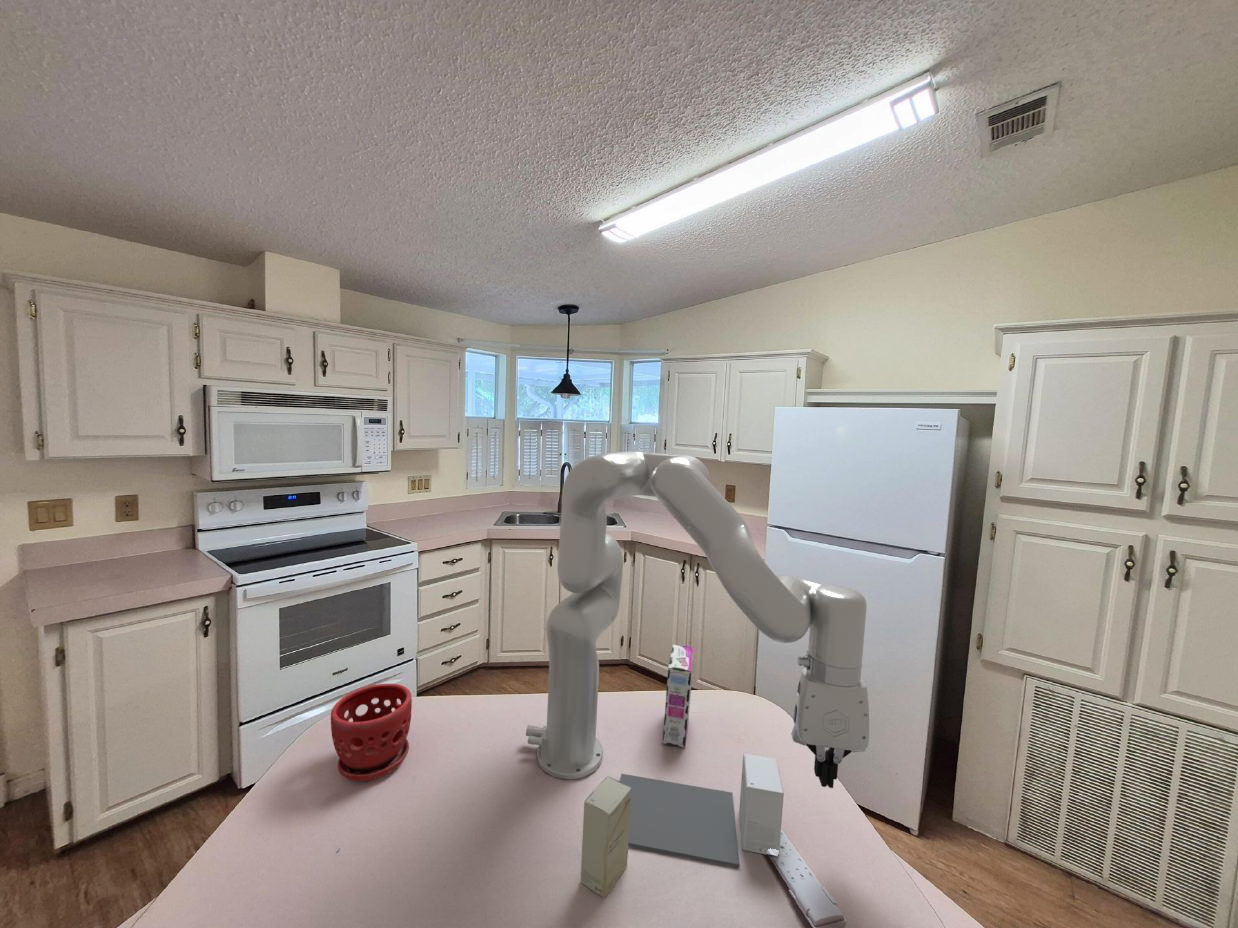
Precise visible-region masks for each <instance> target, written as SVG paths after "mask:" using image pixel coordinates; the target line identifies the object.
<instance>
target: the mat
mask: <svg viewBox="0 0 1238 928" xmlns="http://www.w3.org/2000/svg"><path fill="white" fill-rule="evenodd" d="M619 778H620V779H619V782H621V783H623V784H625V785H627V786H629V787H630V788H631V800H630V819H629V839H628V848H629V847H630V848H634V849H638V850H639V849H640V850H644V851H648V852H649V851H650V852H654V853H659V854H665V855H668V856H669V855H670V856H675V857H680V858H683V859H684V858H686V859H691V860H695V861H700V862H705V863H711V864H716V865H721V866H726V867H730V868H737V869H740V868H741V867H740V865H741V863H740V854H739V844H738V835H737V825H736V814H735V806H734V805H735V804H734V796H733V792H731V791H727V790H726V791H725V790H718V789H714V788H708V787H703V786H702V787H701V786H696V785H691V784H684V783H679V782H674V781H667V780H666V781H665V780H661V779H655V778H650V777H645V776H639V775H632V774H626V773H621V774H620V777H619Z"/></svg>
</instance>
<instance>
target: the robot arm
mask: <svg viewBox="0 0 1238 928" xmlns="http://www.w3.org/2000/svg"><path fill="white" fill-rule="evenodd" d="M635 495H636V496H637V495H638V496H647V497H655V498H656V499H657V500H658V501H659V502H660V504H661V505H662V506H663V507H664V508H665V510H666V511H668V513H669V514H670V515H671V516H672V517H673V518H674V519H675V520H676V522H677V523H678V524H679V526H681V527H682V529H684V530H685V532H686V533H687V534H688V535H689V536H690V538H691V539H692V540H693V541H694V542H695V544H697V546H698V547H699V548H700V549H701V550H702V552H703V553H704V555H705V557H706V558H707V560H708V562H709V564H710V566H711V568H712V571H713V572H714V573H715V574H716V577H717V579H718V580H719V582H720V583H721V586H722V587H723V588H724V589H725V591H726V592H727V594H728V596H729V597H730V598H731V600H732V601H733V602H734V603H735V605H736V606H737V607H738V608H739V609H740V611H741V612H742V613H743V614H744V615H745V616H746V617H747V619H749V621H750V622H751V623H752V624H753V625H754V626H755V628H757V630H758V631H760V632H761V633H762V634H763V635H765V637H768V638H769V639H771V640H773V641H774V642H778V643H783V644H790V643H791V644H792V643H794V642H797V641H799V640H801V639H802V638H804V636H805V635H806V633H807V632H808V630H809V636H808V649H807V650H806V654H805V656H798V657H797V664H798V666H799V667H803V669H802V672H801V674H800V678H799V681H798V684H797V685H798V686H797V689H796V693H795V700H794V707H793V719H792V720H793V723H794V725H793V728H792V731H791V734H790V735H791V738H792V741H793V742H794V743H796V744H799V745H802V746H806V747H807V748H808V749H809V751H811V753H813V754H814V764H813V767H814V768H813V771H814V775H815V777H816V778H818V779H819V783H820V785H821V787H822V788H826V787H828V788H830V789H834V782H835V780H837V779H838V772H839V771H838V769H839V765H840V764H841V763H842V762H843V759H844V758H845V757H847V756H848V755H850V754H851V753H860V752H861V753H863V752H865V751H866V750H867V748H868V746H869V742H870V741H869V740H870V707H869V695H868V694H869V693H868V692H869V691H868V687H867V684H866V682H865V681H864V680H863V678H862V667H863V656H864V644H865V643H864V641H865V630H866V619H867V618H866V617H867V600H866V599H865V597H864V595H863V594H862V593H860V592H859V591H858V590H856V589H853V588H851V587H846V586H843V585H838V584H837V585H836V584H821V583H817V582H814V581H810V580H807V579H803V578H800V577H797V576H794V575H787V574H778V575H776V574H775V573H774V572H773V571H772V569H771V568H770V567H769V565H768V564H767V563H766V562H765V561H764V559H763V558H762V556H761V554H760V553H759V551H758V549H757V548H756V545H755V543H754V541H753V538H752V536H751V535H752V534H751V533H750V530H749V527H748V525H747V522H746V521H745V519H744V518H743V516H742V515H741V514H740V513H739V512H738V511H737V510H736V509H735V508H734V507H733V506H732V505H731V504H730V503H729V501H727V499H726V498H725V497H724V496H723V495H722V494H721V493H720V492H719V490H717V488H715V486H714V485H713V484H712V483H711V482H710V473H709V470H708V468H707V467H706V465H705V464H704V462H702V460H700V459H698V458H697V457H695V456H692V455H684V454H664V453H654V452H643V451H642V452H641V451H614V452H613V451H612V452H605V453H600V454H596V455H592V456H590V457H587V458H585V459H583V460H582V461H580V462H578V463H577V464H576V465H574V467H572V468H571V470H569V472H568V474H567V476H566V477H565V480H564V483H563V487H562V493H561V518H560V527H559V528H560V529H559V540H558V541H559V542H558V552H557V553H558V555H557V569H556V571H557V576H558V577H557V579H558V581H559V584H561V586H562V587H563V588H564V590H566V591H568V592H570V593H571V594H570V595H568V596H567V597H566V598H563V600H561V601H560V602H559V603H557V605H555V607H554V608H552V610H551V611H550V613H549V615H548V617H547V620H546V625H545V632H546V633H545V634H546V641H547V647H548V687H547V688H548V690H547V709H546V710H547V715H546V725H544V726H542V727H541V726H540V727H539V726H535V725H532V724H531V725H529V724H528V725H526V731H525V736H526V737H527V744H529V745H537V746H538V748H537V753H536V755H537V756H536V757H537V763H538V765H539V767H540V768H541V769H542V771H544V772H545V773H546V774H548V775H550V776H551V777H555V778H557V779H561V780H562V779H564V780H575V779H580V778H584V777H586V776H589V775H591V774H592V773H593V772H595V771H596V770H597V769H598V768H599V767H600V765H601V763H602V761H603V753H604V750H603V746H602V744H601V742H600V741H599V739H598V738H597V736H596V735H597V717H598V699H599V698H598V697H599V681H600V679H599V678H600V677H599V676H600V661H599V657H598V653H597V652H598V651H597V641H598V639H599V638H600V637H601V635H603V633H605V631H607V629H609V628H610V627H611V625H612V624H613V623H614V622H615V621H616V618H617V617H618V614H619V611H620V605H621V604H620V602H621V591H622V581H623V568H624V557H623V552H622V548H621V545H620V544H619V543H618V541H617V540H616V539H615V538H614V537H613V536H611V535H610V534H609V533H607V524H608V521H607V520H608V519H607V517H608V515H607V512H606V507H605V506H606V505H607V503H608V502H611V501H616V500H621V499H623V498H627V497H630V496H635ZM825 748H828V749H827V750H826V749H825Z"/></svg>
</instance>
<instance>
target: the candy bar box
mask: <svg viewBox="0 0 1238 928" xmlns="http://www.w3.org/2000/svg"><path fill="white" fill-rule="evenodd" d="M694 650H695V649H694V647H691V646H687V645H686V646H684V645H679V644H672V647H671V651H670V658H669V661H668V667H667V680H666V681H667V682H666V691H665V692H666V693H665V704H664V705H665V706H664V707H665V708H664V717H663V718H664V719H663V720H664V722H663V730H662V731H663V733H662V741H661V742H662V744H663V745H668V746H673V747H677V748H683V749H685V748H686V743H687V735H688V728H689V717H690V709H691V708H690V706H691V693H692V681H693V667H694V666H693V665H694Z"/></svg>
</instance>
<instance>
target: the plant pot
mask: <svg viewBox="0 0 1238 928" xmlns="http://www.w3.org/2000/svg"><path fill="white" fill-rule="evenodd" d="M374 699H378V701H377V702H376V703H373V702H372V700H374ZM398 700H399V701H400V703H399V702H398ZM386 701H389V705H386V704H385V702H386ZM412 701H413V699H412V693H411V691H410V689H409V688H408V687H406V686H404V685H401V684H398V683H378V684H372V685H369V686H364V687H362V688H359V689H356V690H354V691H352V692H349V693H347V694H346V695H345V696H343V697H342V698H340V699H339V700H338V701H337V702H336V703H335V704H334V705H333V707H332V709H331V712H330V730H331V731H330V732H331V738H332V743H333V746H334V749H335V752H336V754H337V757H339V758H338V760H337V769H338V772H339V773H340V775H342V776H343V777H344V778H346V779H348V780H351V781H356V782H365V781H366V782H367V781H370V780H375V779H378V778H381V777H383V776H385V775H387V774H390V773H391V772H393V771H394V770H395V769H397V768H398V767H399V766H400V765H401V764H402V763H403V762H404V760H405V758H406V757H407V755H408V753H409V749H410V742H409V740H408V739H407V738H408V736H409V731H410V725H411V721H412V708H413V707H412V705H413V704H412V703H413V702H412ZM363 705H365V706H367V710H366V712H365V713H363V714H361V715H358V714H357V712H356V711H357V709H358V708H359V707H360V706H363ZM376 709H379V711H378V712H376ZM393 709H394V711H393ZM347 712H348V713H347ZM346 713H347V715H346V717H345V714H346ZM351 719H352V721H350V720H351Z"/></svg>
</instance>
